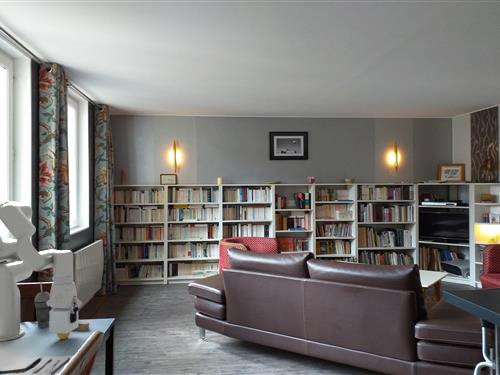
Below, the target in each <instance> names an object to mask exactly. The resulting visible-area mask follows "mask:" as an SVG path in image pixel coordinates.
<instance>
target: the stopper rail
mask: <svg viewBox="0 0 500 375" xmlns="http://www.w3.org/2000/svg"><path fill="white" fill-rule="evenodd" d="M88 329H89V330H90V322H87V321H85V322H84V321H78V327H77V328H76V329H74V330H73V331H82V330H84V331H86V330H87V331H89V330H88Z"/></svg>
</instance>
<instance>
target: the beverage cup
mask: <svg viewBox="0 0 500 375" xmlns="http://www.w3.org/2000/svg"><path fill="white" fill-rule="evenodd" d="M39 284H40V291H41V292H39V293H37V295H35V298H34V307H35V314H36V321H37V327H38V328H44V327H43V326H46V327H48V326H50V311H51V310H50V309H49V308H48V306H47V304H46V302H47V301H48V300H50V292H48V291H43V285H42V281H41V282H40V283H39ZM47 325H48V326H47Z"/></svg>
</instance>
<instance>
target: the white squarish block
mask: <svg viewBox="0 0 500 375" xmlns="http://www.w3.org/2000/svg"><path fill="white" fill-rule="evenodd" d="M76 307H77V305H76ZM72 308H73V307H72ZM73 310H74V308H73ZM70 314H71V311H70V309H69V308H68V309H61V308H56V309H54V310H50V320H49V333H53V334H57V333H63V334H67V333H68V332H70V333H71V331H75V330H74V329H76V328H77V327H78V322H79V310H78V311H77V320H76V322H74V323H70Z"/></svg>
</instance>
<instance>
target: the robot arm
mask: <svg viewBox="0 0 500 375" xmlns="http://www.w3.org/2000/svg"><path fill="white" fill-rule="evenodd" d="M32 216H33V209H32V207H31V206H30V205H29V204H27V203H25V202H21V201H9V200H1V199H0V221H1V222H2V223H3V225H4V226H5V228H6V229H7V230H8V231H9V232H10V233H11V235H12V236H13V237H14V238H12V237H11V238H2V236H0V342H6V341H11V340H15V339H17V338H20V337H22V336H23V335H24V334H25V329H23V328H21V293H20V292H21V291H20V289H19V287H18V284H17V283H18V282H21V281H24V280H26V279H29V277H31V275H32V273H33V272H39V271H43V270H46V269H50V268H53V269H52V270H53V272H52V274H53V276H52V277H51V281H53V283H52V284H51V287H50V292H49V294H50V300H48V301H47V302H46V304H47V306H48V308H49V309H50V311H51V310H54V309H56V308H61V309H68V308H69V309H70V311H71V314H70V323H74V322H76V320H77V311H78V312H79V310H80V309H81V307H82V305H83V301H81V299H79V298H78V295H77V294H78V292H77V287H76V283H75V282H74V256H73V255H74V254H73V251H72V250H69V249H68V250H67V249H65V250H64V249H63V250H57V249H46V250H42V251H38V250H37V249H36V248H35V247H34V245H33V243H32V240H31V237H32V236H34V234H35V233H36V230H37V229H36V226H35V225H34V224H33V223H32V221H31V220H30V219H31V218H33V217H32ZM1 262H2V263H1ZM76 306H77V307H76ZM72 307H73V308H74V310H73V308H72Z"/></svg>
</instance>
